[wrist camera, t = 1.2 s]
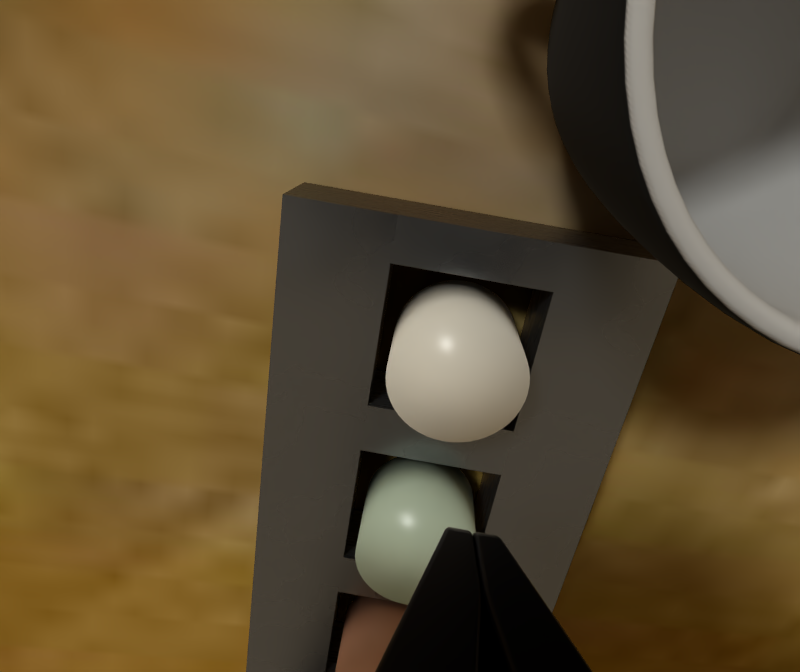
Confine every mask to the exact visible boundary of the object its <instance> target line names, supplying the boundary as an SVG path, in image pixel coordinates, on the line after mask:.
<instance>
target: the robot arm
mask: <svg viewBox="0 0 800 672" xmlns="http://www.w3.org/2000/svg"><path fill="white" fill-rule="evenodd" d="M375 672H592V670H591V669H590V667H589V666H588V664H587V663H586V662H585V660H584V659H583V657H582V656H581V654H580V653H579V651H578V650H577V648H576V647H575V646H574V644H573V643H572V641H571V640H570V638H569V637H568V635H567V634H566V632H565V631H564V629H563V628H562V627H561V625H560V624H559V622H558V621H557V619H556V618H555V616H554V615H553V613H552V612H551V611H550V609H549V608H548V606H547V605H546V603H545V602H544V600H543V599H542V597H541V596H540V594H539V593H538V592H537V590H536V589H535V587H534V586H533V584H532V583H531V581H530V580H529V578H528V577H527V576H526V574H525V573H524V571H523V570H522V568H521V567H520V565H519V564H518V562H517V561H516V560H515V558H514V557H513V555H512V554H511V552H510V551H509V549H508V548H507V546H506V545H505V543H504V542H503V541H502V539H501V538H500V537H499V536H496V535H492V534H486V533H480V532H475V533H473V534H472V533H471V532H470V531H468V530H464V529H458V528H452V527H448V528H446V529H445V530H444V532H443V534H442V536H441V539H440V541H439V543H438V545H437V547H436V549H435V551H434V553H433V555H432V557H431V559H430V561H429V563H428V565H427V567H426V569H425V571H424V573H423V575H422V577H421V579H420V581H419V583H418V585H417V587H416V589H415V591H414V593H413V595H412V597H411V599H410V602H409V604H408V606H407V608H406V610H405V612H404V614H403V616H402V618H401V620H400V622H399V624H398V626H397V628H396V630H395V632H394V634H393V636H392V638H391V640H390V642H389V644H388V646H387V648H386V650H385V652H384V654H383V656H382V658H381V660H380V662H379V665H378V667H377V669H376V671H375Z"/></svg>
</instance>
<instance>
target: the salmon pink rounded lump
mask: <svg viewBox="0 0 800 672" xmlns="http://www.w3.org/2000/svg"><path fill="white" fill-rule="evenodd" d="M407 606H408V605H406V604H402V603H398V602H393V601H387V600H382V599H376V598H371V597H365V596H358V597H356V598H355V599H354V600H353V601H352V602H351V604H350V605H349V607H348V609H347V612H346V617H345V622H344V628H343V633H342V638H341V643H340V649H339V654H338V659H337V665H336V670H335V672H375V671H376V669H377V667H378V665H379V662H380V660H381V658H382V656H383V654H384V652H385V650H386V648H387V646H388V644H389V642H390V640H391V638H392V636H393V634H394V632H395V630H396V628H397V626H398V624H399V622H400V620H401V618H402V616H403V614H404V612H405V610H406V608H407Z"/></svg>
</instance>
